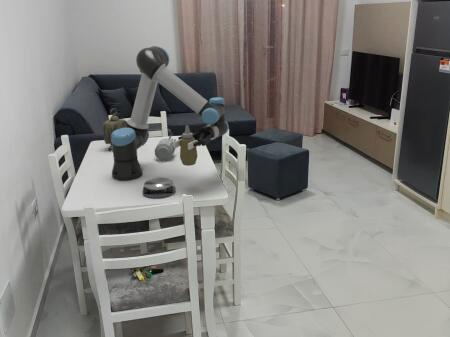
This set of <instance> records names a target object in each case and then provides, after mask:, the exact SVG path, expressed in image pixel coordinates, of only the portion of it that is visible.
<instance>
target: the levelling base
mask: <svg viewBox="0 0 450 337" xmlns="http://www.w3.org/2000/svg"><path fill="white" fill-rule="evenodd" d="M174 194H176V187H175V186H174V181H173V180H172V179H170V178H168V177H155V178H151V179H147V180H146V181H145V182H144V184H143V188H142V195H143V197H145V198H147V199H156V200H157V199H165V198H169V197H171V196H173V195H174Z"/></svg>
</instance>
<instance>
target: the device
mask: <svg viewBox="0 0 450 337" xmlns="http://www.w3.org/2000/svg"><path fill="white" fill-rule="evenodd" d="M175 141H177V138H172V135H171V134H169V137H168V138H162V139H161V140H159V142H158V143H157V144H156V147H155V148H154V155H155V157H156V158H157V160H160V161H161V162H165V161H166V162H167V161H168V160H170V159H171V158H172V157H173V155H174V153H175V150H176V148H174V142H175Z"/></svg>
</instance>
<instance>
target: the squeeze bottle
mask: <svg viewBox="0 0 450 337" xmlns="http://www.w3.org/2000/svg"><path fill="white" fill-rule="evenodd" d="M184 129H185V130H184V132H183V133H182V135H181V136H183V138H182V139H181V144H180V146H179V147H180V152H179V158H180V161H181V163H182V165H183V166H190V167H191V166H194V165H196V163H197V159H198V151H197V150H198V149H197V146H196V147H194V148H192V149H190V150H188V143H190V142H192V141H195V138H193V134H194V133H193V132H191V129H190V126H189V125H188V124H187V125H185V128H184Z"/></svg>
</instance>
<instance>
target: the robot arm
mask: <svg viewBox="0 0 450 337" xmlns="http://www.w3.org/2000/svg"><path fill="white" fill-rule="evenodd" d="M135 61H136V66H137V68H138V70H139V73H140V74H141V75H140V76H141V77H140V80H139V84H138V88H137V92H136V95H135V100H134V104H133V108H132V112H131V115H130V118H129V119H127V120H126V121H127V123H126V127H125V128H120V129H117V130H115V131H114V132H113V133H112V135H111V142H112V146H111V149H112V154H113V165H112V166H113V167H112V170H111V177H112V179H114V180H116V181H129V180H135V179H138V178H141V176H143V169H142V167H141V164H140V162H139V160H138V149H139V148H141V147H142V146H144V145H146V143H147V142H148V140H149V138H150V137H149V136H150V132H149V127H150V126H149V123H148V120H149V117H150V113H151V110H152V106H153V102H154V98H155V94H156V90H157V86H158V84H159V85H161V86H162V87H164V88H165V89H166V90H167V91H168V92H170V93H171V94H172V95H174V96H175V97H176V98H177V99H179V101H181V102H182V103H183V104H185V105H186V106H187V107H189V108H190V109H191V110H192V111H193V112H195V113H196V114H197V115H198V116H200V117H201V120H202V122H203V123H205V124H206V125H205V126H203V127H200V128H199V130H198V131H197V132H195V133H193V138H195V141H192V142H190V143H188V150H190V149H192V148H194V147H196V148H197V147H200V146H202V147H205V146H206V145H208V144H209V143H211V142H214V141H215V140H216V139H217V138H219V137H223V136H224V135H225V134H227V133H228V132H229V129H230V126H229V124H228V122H227V121H226V112H225V110H226V102H225V99H224V97H212V98H210V99H209V101H208V100H207V99H206V98H204V97H203V96H202V95H201V94H199V93H198V92H197V91H196V90H194V89H193V88H192V87H191V86H189V85H188V84H187V83H186V82H184V81H183V80H182V79H181V78H179V76H177V75H176V74H175V73H173V71H171V70H170V69H168V68H167V67H168V65H169V63H170V55H169V54H168V52H167V50H166V49H165V48H163V47H161V46H156V45H155V46H153V45H152V46H150V47H144V48H142V49H140V51H139V52H138V53H137V55H136V58H135ZM182 138H183V136H182V135H180V136H179V137H178V140H177V139H176V141H175V142H174V148H175V149H176V148H178V147H180V144H181V139H182Z"/></svg>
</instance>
